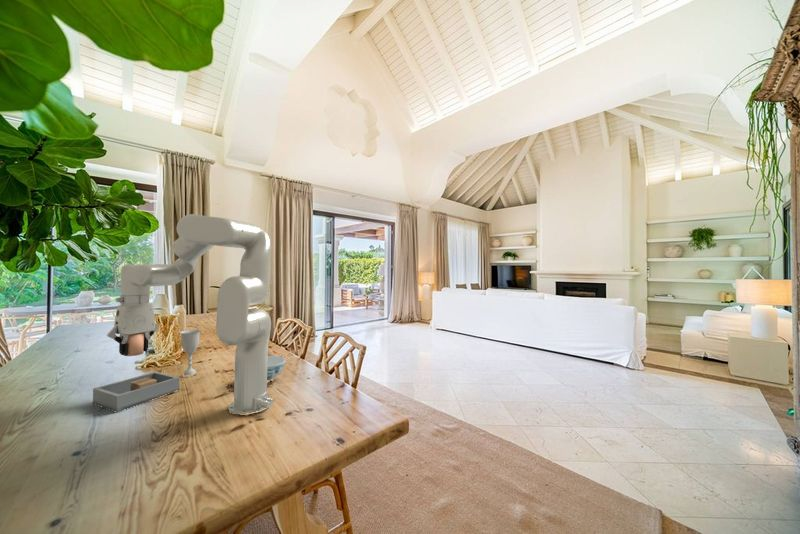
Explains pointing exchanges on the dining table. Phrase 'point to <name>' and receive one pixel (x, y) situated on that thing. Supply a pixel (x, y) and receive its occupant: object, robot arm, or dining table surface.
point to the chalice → (190, 346)
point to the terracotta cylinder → (135, 344)
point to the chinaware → (274, 366)
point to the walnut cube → (142, 383)
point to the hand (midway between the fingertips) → (134, 352)
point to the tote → (134, 391)
